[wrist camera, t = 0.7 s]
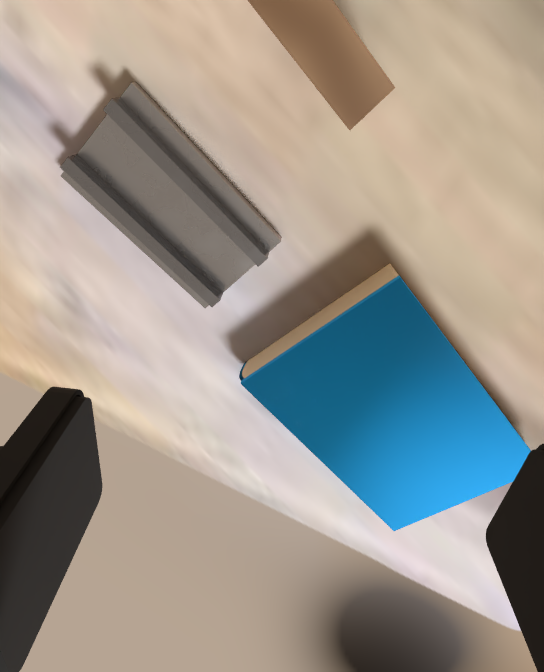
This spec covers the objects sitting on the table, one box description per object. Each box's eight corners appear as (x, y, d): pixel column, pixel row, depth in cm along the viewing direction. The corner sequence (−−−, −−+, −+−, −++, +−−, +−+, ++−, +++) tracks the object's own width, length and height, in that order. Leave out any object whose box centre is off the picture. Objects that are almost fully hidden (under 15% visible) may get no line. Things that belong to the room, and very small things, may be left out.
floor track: (66, 173, 35) (50, 180, 33) (136, 82, 31) (123, 82, 29) (207, 303, 40) (201, 316, 37) (281, 237, 36) (279, 247, 34)
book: (398, 275, 33) (548, 470, 41) (390, 255, 37) (529, 437, 45) (233, 387, 40) (391, 536, 48) (240, 361, 44) (386, 504, 52)
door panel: (297, -24, 28) (292, -56, 21) (376, 84, 30) (395, 87, 23) (263, 17, 29) (247, 0, 22) (341, 118, 31) (349, 130, 24)
